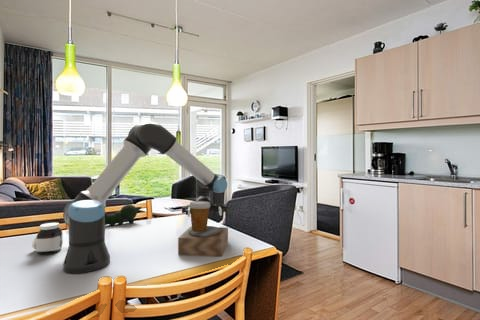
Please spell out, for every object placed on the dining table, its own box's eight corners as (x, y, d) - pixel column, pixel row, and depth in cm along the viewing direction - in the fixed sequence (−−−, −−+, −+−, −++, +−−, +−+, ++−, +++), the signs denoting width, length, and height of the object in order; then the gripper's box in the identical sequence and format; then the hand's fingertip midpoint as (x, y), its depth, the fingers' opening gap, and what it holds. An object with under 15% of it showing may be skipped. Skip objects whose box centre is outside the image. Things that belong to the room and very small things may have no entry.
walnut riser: (178, 254, 112) (178, 235, 112) (190, 241, 130) (190, 224, 130) (221, 256, 110) (221, 236, 110) (227, 242, 128) (227, 225, 128)
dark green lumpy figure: (98, 231, 152) (144, 221, 165) (95, 198, 151) (141, 191, 164) (97, 227, 160) (141, 218, 173) (93, 196, 159) (138, 189, 172)
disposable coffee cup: (214, 229, 122) (215, 202, 122) (199, 233, 114) (200, 204, 114) (198, 225, 127) (199, 200, 127) (183, 229, 119) (184, 202, 119)
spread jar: (53, 255, 111) (53, 227, 111) (22, 257, 109) (22, 228, 109) (67, 246, 123) (67, 220, 122) (39, 247, 121) (39, 221, 121)
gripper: (228, 210, 139) (233, 220, 119) (178, 212, 136) (175, 222, 115) (228, 196, 139) (233, 203, 118) (178, 197, 135) (175, 205, 114)
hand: (204, 213), depth 116 cm, fingers open, 13 cm apart
